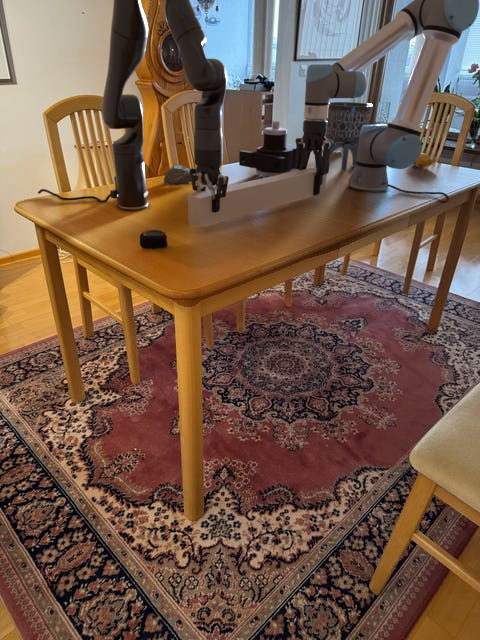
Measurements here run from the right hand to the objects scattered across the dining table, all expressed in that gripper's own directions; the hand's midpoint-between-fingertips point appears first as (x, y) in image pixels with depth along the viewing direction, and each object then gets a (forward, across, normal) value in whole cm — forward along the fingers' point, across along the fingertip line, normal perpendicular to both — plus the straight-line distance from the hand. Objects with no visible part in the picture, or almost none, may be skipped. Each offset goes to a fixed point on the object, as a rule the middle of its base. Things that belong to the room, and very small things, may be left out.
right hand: (309, 192), depth 156 cm
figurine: (+5, -51, +92) cm, 105 cm away
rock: (+3, -50, -18) cm, 53 cm away
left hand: (-4, 0, -45) cm, 45 cm away
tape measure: (+2, +2, -65) cm, 65 cm away
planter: (+4, -28, +58) cm, 65 cm away
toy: (+5, -5, +90) cm, 90 cm away
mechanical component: (+4, -36, +26) cm, 45 cm away
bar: (0, 0, -23) cm, 23 cm away
